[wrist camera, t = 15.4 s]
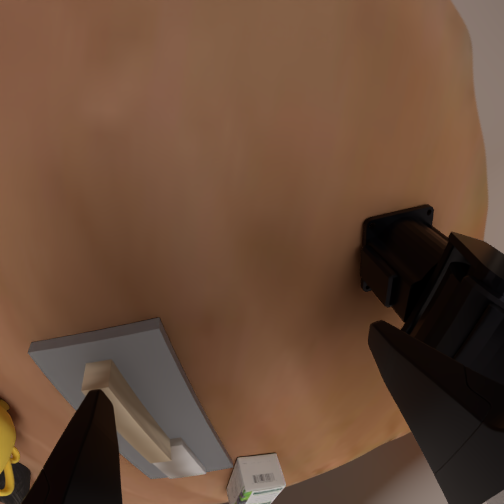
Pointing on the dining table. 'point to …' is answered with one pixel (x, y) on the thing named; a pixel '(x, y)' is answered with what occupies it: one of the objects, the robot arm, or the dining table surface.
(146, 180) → the dining table surface
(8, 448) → the teapot
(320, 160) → the dining table surface
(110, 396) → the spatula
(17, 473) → the travel mug
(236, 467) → the syrup box
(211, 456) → the charcoal board
